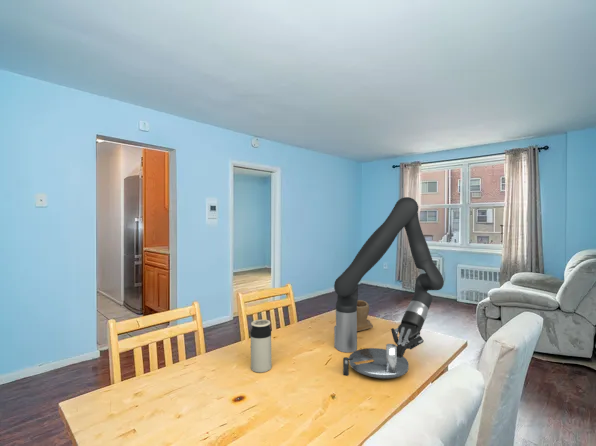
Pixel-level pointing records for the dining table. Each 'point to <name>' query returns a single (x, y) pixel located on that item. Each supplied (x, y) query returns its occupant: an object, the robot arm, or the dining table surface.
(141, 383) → the dining table surface
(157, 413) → the dining table surface
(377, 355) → the turntable
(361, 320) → the stone cup
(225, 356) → the dining table surface
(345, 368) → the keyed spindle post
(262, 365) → the travel mug
